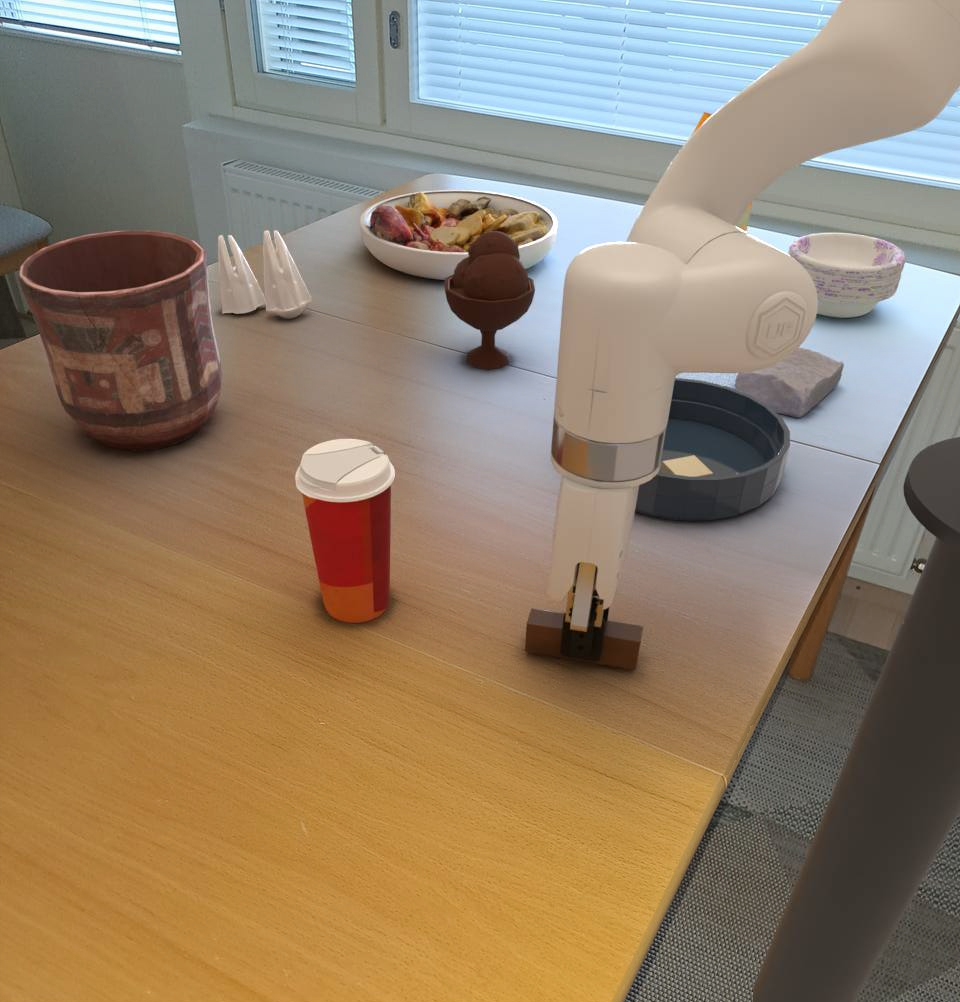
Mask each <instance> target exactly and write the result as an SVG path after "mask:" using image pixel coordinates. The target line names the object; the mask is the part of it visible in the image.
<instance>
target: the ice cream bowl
mask: <svg viewBox="0 0 960 1002" xmlns="http://www.w3.org/2000/svg"><path fill="white" fill-rule="evenodd" d="M468 255H469V257H467V258H465V259H463V260H462V261H461V262H459V263H458V264H457V266H456V268H455V270H454V274H453V275H451V276H449V277H447V278H445V280H444V293H445V297H446V302H447V305H448V307H449V308H450V311H451V312H452V313H453V314H454V315H455V316H456V317H457V318H458V319H459V320H460V321H462V322H463V323H465V324H467V325H468V326H470V327H472V328H473V329H476V330H478V331H479V332H480V334H481V342H480V345H479V346H476V347H474V348H473V349H471V350H469V351H468V352H467V353H466V363H467V364H468V365H470V366H472V367H473V368H475V369H480V370H481V369H483V370H487V371H488V370H495V369H502V368H503V367H505V366H506V365H508V364H510V356H509V354H508V352H507V351H505V350H503V349H501V348H500V347H498V346H496V334H497V333H498V331H501V330H503V329H505V328H507V327H509V326H511V325H512V324H515V322H517V321H519V320H520V319H521V318H522V317H523V316H524V315H526V313H527V312H528V311H529V309H530V307H531V305H532V304H533V301H534V297H535V294H536V293H535V292H536V286H535V281H534V279H533V278H532V277H530V276H529V275H528V274H529V273H528V269H525V268H524V266H523V264H522V262H521V261H520V260H519V259H520V254H519V250H518V244H517V243H516V242H515V241H514V240H513V239H512V238H511V237H510V236H508V235H507V234H505V233H502V232H498V231H491V232H487V233H482V234H481V235H480V236H479V237H478V238H477V239H476V240H475V241H474V242H473V243H471V245H470V247H469V250H468Z"/></svg>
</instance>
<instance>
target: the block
mask: <svg viewBox="0 0 960 1002" xmlns="http://www.w3.org/2000/svg"><path fill="white" fill-rule="evenodd" d="M661 473H667V474H674V475H682V476H689V477H713V473H712V472H711V471H710V470H709V469H708V468H707V467H706V466H705V465H704V464H703V463H702V462H701V461H700V460H699V459H698V458H697V457H696V456H695V455H693V456H688V457H682V458H677V459H672V460H666V461H662V466H661Z"/></svg>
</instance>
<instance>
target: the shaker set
mask: <svg viewBox="0 0 960 1002" xmlns="http://www.w3.org/2000/svg"><path fill="white" fill-rule="evenodd" d="M273 237H274V243H275V247H274V243H273V241H272V237H271V235H270V231H269V230H267V229H266V230H264V231H263V237H262V238H263V241H262V242H263V244H262V254H263V255H262V258H263V259H262V260H263V284H264V286H263V287H264V292H263V289H262V288H261V285H260V283H259V282H258V280H257V278H256V277H255V274H254V272H253V271H252V268H251V266H250V264H249V263H248V260H246V258H245V255H244V253H243V252H242V250H241V248H240V246H239V245H238V243H237V242H236V240H235V238H234V237H233V235H231V234H228V235H227V241H228V244H229V248H230V251H231V255H232V258H233V262H234V266H233V265H232V262H231V258H230V254H229V250H228V248H227V244H226V241H225V238H224V235H223V234H220V235H218V236H217V260H218V261H217V263H218V278H219V288H220V303H221V313H222V314H232V313H233V314H235V315H236V314H237V315H239V314H246V313H251V312H253V311H255V310H257V308H258V307H260V306H263V305H265V312H266V313H271V314H274V315H276V316H279V317H281V318H283V319H293V318H296V317H298V316H300V315H301V314H302V313H303V312H305V310H306V309H307V307H308V306H309V305H310V304H311V303H312V301H313V299H312V296H311V293H310V291H309V290H308V287H307V285H306V284H305V282H304V280H303V277H302V275H301V273H300V271H299V269H298V267H297V265H296V263H295V261H294V259H293V257H292V254H291V253H290V251H289V249H288V247H287V245H286V243H285V241H284V239H283V237H282V236H281V234H280V233H279V231H278V230H276V229H275V230H273Z"/></svg>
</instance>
